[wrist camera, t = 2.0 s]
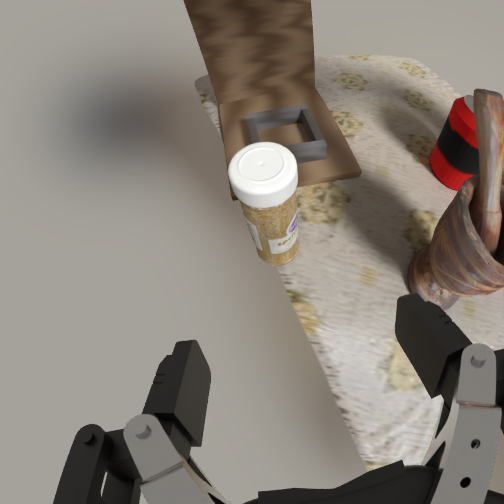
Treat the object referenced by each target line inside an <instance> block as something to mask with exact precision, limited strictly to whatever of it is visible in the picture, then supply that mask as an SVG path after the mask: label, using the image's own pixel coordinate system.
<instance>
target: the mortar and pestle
mask: <svg viewBox="0 0 504 504" xmlns="http://www.w3.org/2000/svg"><path fill="white" fill-rule="evenodd" d="M473 108H474V117H475V128H476V137H477V144H478V150H479V170H480V175H474V176H472V177H470V178H468V179H467V180H465V181H464V183H463V184H462V186H461V187H460V189H459V190H458V192H457V194H456V196H455V197H454V199H453V201H452V202H451V204H450V205H449V206H448V208H447V209H446V211H445V212H444V213H443V215H442V217H441V218H440V220H439V222H438V224H437V226H436V228H435V231H434V234H433V238H432V241H431V244H430V246H428V247H425V248H423V249H422V250H420V251H419V252H417V253H416V254H415V255H414V256H413V258H412V260H411V262H410V265H409V271H408V282H409V287H410V289H411V292H412V293H414V292H416V293H418V294H419V295H420V296H421V297H422V298H423V300H424V301H425V302H426V301H430V302H432V303H434V304H436V305H438V306H440V307H441V309H442V310H443V311H444V310H446V309H448V308H450V307H451V306H452V305H453V304H454V303H455V302H456V301H457V300H458V298H459V297H472V296H474V295H487V294H490V293H492V292H495V291H497V290H499V289H501V288H502V287H504V185H503V184H501V181H502V172H503V164H504V100H503V97H502V95H501V94H500V93H497V92H494V91H489V90H485V89H475V90H474V101H473Z"/></svg>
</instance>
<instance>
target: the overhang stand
mask: <svg viewBox="0 0 504 504" xmlns="http://www.w3.org/2000/svg"><path fill="white" fill-rule="evenodd" d="M184 3H185V6H186V9H187V12H188V15H189V17H190V20H191V23H192V26H193V29H194V32H195V35H196V38H197V41H198V44H199V47H200V50H201V53H202V55H203V58H204V61H205V64H206V67H207V70H208V73H209V76H210V79H211V82H212V85H213V88H214V92H215V95H216V98H217V101H218V104H219V110H220V117H221V125H222V132H223V140H224V147H225V154H226V162H227V169H228V168H229V164H230V161H231V159H232V158H233V157H234V155H235V154H236V153H237V152H238V151H240V150H241V149H243V148H244V147H246V146H248V145H251V144H254V143H259V142H272V143H277V144H280V145H282V146H284V147H286V148H287V149H288V150H289V151H290V152H291V153H292V154H293V155H294V157H295V159H296V162H297V170H298V183H297V187H301V186H306V185H311V184H317V183H322V182H328V181H334V180H340V179H346V178H352V177H358V176H360V175H361V169H360V167H359V165H358V163H357V161H356V159H355V157H354V155H353V153H352V151H351V149H350V147H349V145H348V143H347V141H346V139H345V138H344V136H343V134H342V132H341V130H340V128H339V127H338V125H337V123H336V121H335V120H334V118H333V116H332V114H331V113H330V111H329V109H328V108H327V106H326V104H325V103H324V101H323V99H322V98H321V96H320V95H319V93H318V91H317V90H316V88H315V69H314V43H313V26H312V11H311V0H184ZM228 177H229V175H228ZM229 184H230V191H231V197H232V199H233V201H234V200H239V199H238V198H237V196H236V195H235V193H234V191H233V188H232V186H231V183H230V179H229Z"/></svg>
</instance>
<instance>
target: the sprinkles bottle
mask: <svg viewBox="0 0 504 504" xmlns="http://www.w3.org/2000/svg"><path fill="white" fill-rule="evenodd" d="M228 175H229V179H230V183H231V186H232V188H233V191H234V193H235V195H236V196H237V198H238V199H239V200H240V202H241V205H242V209H243V213H244V216H245V219H246V222H247V224H248V227H249V230H250V232H251V235H252V238H253V240H254V243H255V245H256V246H257V252H258V255H259V257H260V258H261V259H262V260H263V261H264V262H266V263H268V264H269V265H274V266H279V265H284V264H286V263H289V262H290V261H291V260H292V259H293V258H294V257H295V256H296V255H297V252H298V248H299V243H298V237H297V236H298V212H297V205H296V187H297V183H298V170H297V162H296V159H295V157H294V155H293V154H292V153H291V152H290V151H289V150H288V149H287V148H286V147H284V146H282V145H280V144H277V143H272V142H259V143H254V144H251V145H248V146H246V147H244V148H243V149H241V150H240V151H238V152H237V153H236V154H235V155H234V157H233V158H232V159H231V161H230V164H229V168H228Z"/></svg>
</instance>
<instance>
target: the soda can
mask: <svg viewBox="0 0 504 504" xmlns="http://www.w3.org/2000/svg"><path fill="white" fill-rule="evenodd" d="M473 101H474V96H471V95H466V96H465V97H461V98H458V99H456V100H455V101H454V103H453V106H452V108H451V110H450V113H449V115H448V118H447V120H446V122H445V125H444V127H443V129H442V132H441V134H440V136H439V138H438V140H437V143H436V145H435V147H434V149H433V151H432V153H431V156H430V164H431V167H432V169H433V171H434V173H435V175H436V176H437V178H438V179H439V180H440V181H441V182H442V183H443V184H445V185H446V186H447V187H449V188H451V189H453V190H456V191H458V190H459V189H460V187H461V186H462V184H463V183H464V181H465V180H467V179H468V178H470V177H472V176H474V175H480V170H479V150H478V144H477V137H476V128H475V117H474V108H473Z"/></svg>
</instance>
